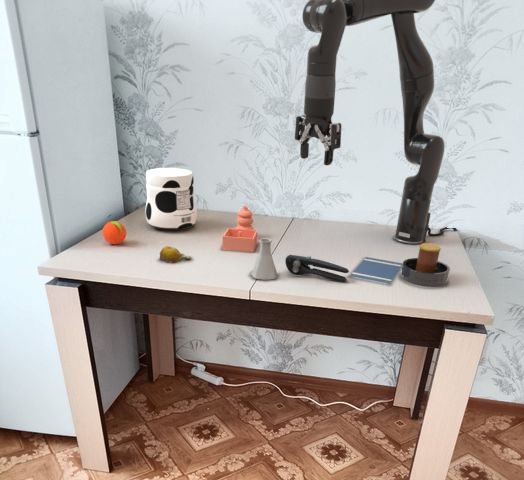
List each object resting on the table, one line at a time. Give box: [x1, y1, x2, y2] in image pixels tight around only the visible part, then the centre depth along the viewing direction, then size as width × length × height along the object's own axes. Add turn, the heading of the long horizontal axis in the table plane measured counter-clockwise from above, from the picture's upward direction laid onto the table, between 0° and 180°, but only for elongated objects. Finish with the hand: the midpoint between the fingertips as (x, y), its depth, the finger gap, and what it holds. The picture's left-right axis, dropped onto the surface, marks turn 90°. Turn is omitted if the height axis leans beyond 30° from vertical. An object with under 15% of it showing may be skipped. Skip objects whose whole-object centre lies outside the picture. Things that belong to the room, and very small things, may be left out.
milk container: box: [144, 167, 198, 231], centre depth 169 cm, size 17×17×18 cm
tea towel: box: [349, 256, 403, 285], centre depth 143 cm, size 18×11×1 cm, turn 155°
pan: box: [400, 257, 451, 288], centre depth 138 cm, size 12×12×4 cm
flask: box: [250, 237, 278, 281], centre depth 134 cm, size 7×7×10 cm
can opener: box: [285, 254, 350, 283], centre depth 136 cm, size 18×7×6 cm, turn 70°
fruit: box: [159, 245, 191, 263], centre depth 144 cm, size 8×8×4 cm
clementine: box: [102, 220, 127, 245], centre depth 153 cm, size 8×7×7 cm
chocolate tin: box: [415, 242, 442, 273], centre depth 137 cm, size 5×5×9 cm
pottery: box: [222, 205, 258, 253], centre depth 159 cm, size 18×10×10 cm, turn 173°
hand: (315, 161), depth 135 cm, fingers open, 8 cm apart
